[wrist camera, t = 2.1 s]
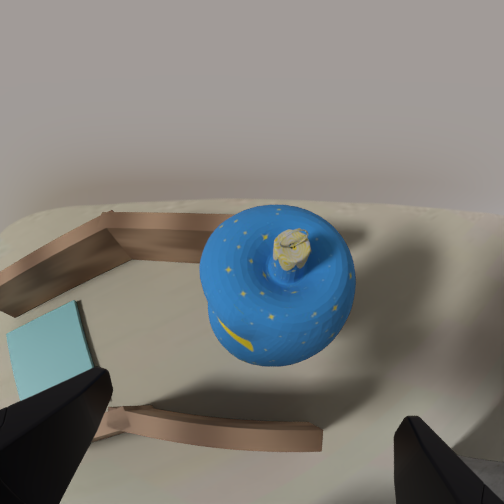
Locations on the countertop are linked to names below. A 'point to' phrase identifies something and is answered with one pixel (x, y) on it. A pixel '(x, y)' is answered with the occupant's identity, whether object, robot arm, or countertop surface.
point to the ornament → (277, 284)
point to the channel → (110, 256)
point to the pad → (48, 350)
